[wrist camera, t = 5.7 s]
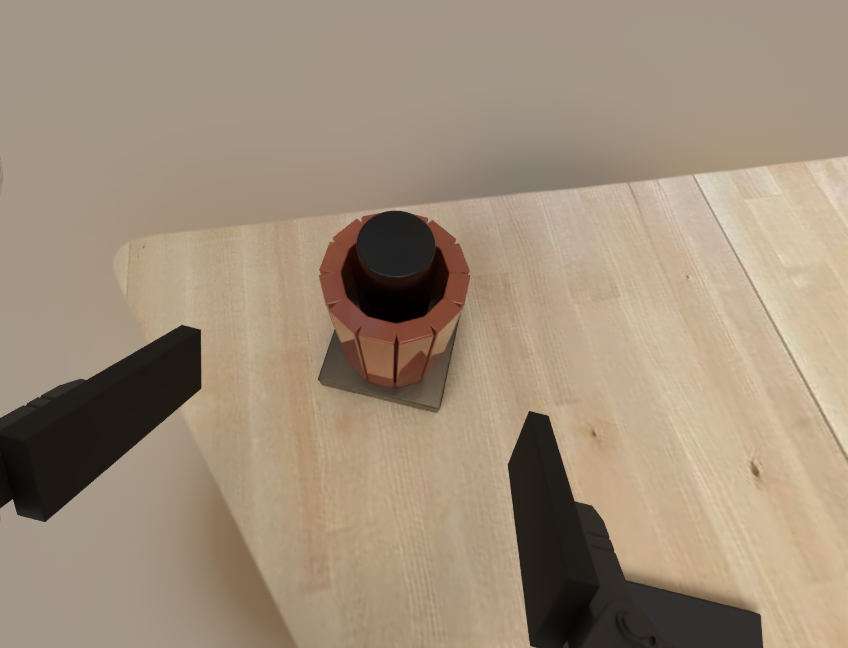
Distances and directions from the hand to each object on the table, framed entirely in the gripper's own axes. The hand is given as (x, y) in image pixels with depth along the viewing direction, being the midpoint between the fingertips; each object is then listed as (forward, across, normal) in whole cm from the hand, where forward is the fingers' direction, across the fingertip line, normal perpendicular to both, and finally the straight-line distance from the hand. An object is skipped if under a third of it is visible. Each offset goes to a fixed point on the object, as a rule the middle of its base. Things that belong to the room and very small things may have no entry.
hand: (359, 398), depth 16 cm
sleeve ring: (+11, 0, -2) cm, 11 cm away
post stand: (+12, 0, -4) cm, 13 cm away
